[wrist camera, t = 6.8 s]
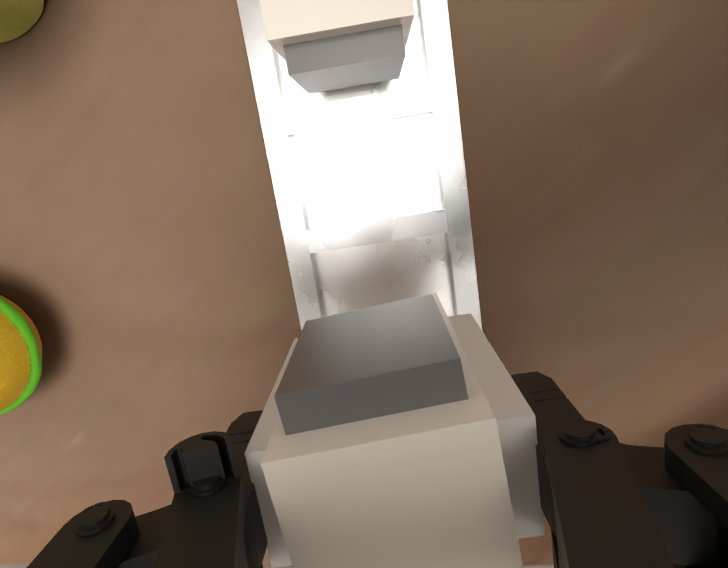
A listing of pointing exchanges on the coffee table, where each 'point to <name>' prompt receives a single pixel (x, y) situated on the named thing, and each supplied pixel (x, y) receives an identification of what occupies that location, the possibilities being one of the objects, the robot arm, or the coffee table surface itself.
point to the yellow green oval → (17, 356)
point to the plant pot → (18, 17)
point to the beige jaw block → (388, 447)
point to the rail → (370, 177)
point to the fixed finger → (339, 40)
